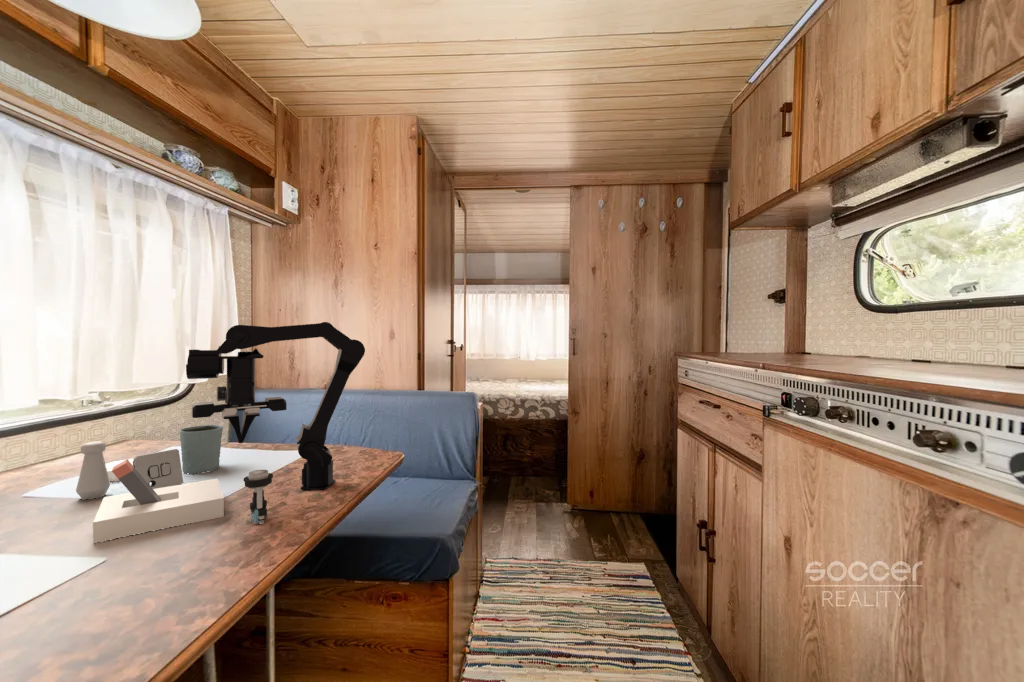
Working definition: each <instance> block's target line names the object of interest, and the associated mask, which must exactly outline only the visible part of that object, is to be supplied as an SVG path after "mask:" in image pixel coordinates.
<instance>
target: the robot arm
mask: <svg viewBox="0 0 1024 682" xmlns="http://www.w3.org/2000/svg"><path fill="white" fill-rule="evenodd" d="M315 338H316V339H317V338H323V339H324V340H325V341H326V342H328V343H329V344H330V345H331V346H333V347H334V348H336V349H337V350H338V351H337V354H336V355H337V356H336V360H335V367H334V370H333V373H332V375H331V377H330V380H329V382H328V383H327V386H326V389H325V391H324V393H323V396H322V398H321V400H320V402H319V404H318V407H317V410H316V411H315V413H314V415H313V418H312V419H311V421H310V422H309V424H307V425H306V424H304V423H302V425H301V428H300V432H299V434H298V435H297V436H296V437H295V440H296V446H297V453H298V455H299V456H300V457H301V458H302V459H303V460H306V462H303V468H302V469H301V485H302V486H300V490H309V491H310V490H313V491H314V490H316V491H317V490H318V491H319V490H320V491H321V490H327V489H329V488H330V487H331V486H333V484H334V483H336V481H337V480H336V479H334V460H333V455H332V453H331V451H330V448H329V447H328V446H326V445H325V443H326V439H327V432H328V427H329V423H330V422H331V419H332V417H333V415H334V412H335V410H336V407H337V405H338V403H339V400H340V398H341V396H342V394H343V391H344V389H345V386H346V384H347V382H348V379H349V377H350V375H351V374H352V373H353V371H354V370H355V369H356V368H357V367H358V365H359V364H360V362H361V361H362V359H363V357H364V355H365V353H366V348H365V346H364V344H363V342H362V341H360V340H358V339H352V338H351V337H349V336H347V335H346V334H345V333H343V332H341V331H340V330H339V329H337V328H336V327H335V326H333V324H331V323H330V322H329V321H322V322H319V323H309V324H308V323H307V324H294V325H282V326H281V325H279V326H260V325H259V326H258V325H250V324H249V325H246V324H237V325H234V326H231V327H229V329H228V330H227V332H226V334H225V340H224V341H223V343H222V344H221V345H219V346H218V348H217V349H207V350H206V349H194V348H193V349H192V348H191V349H189V350H188V356H187V363H186V365H185V371H186V373H185V374H186V379H188V380H200V379H201V380H204V379H218V378H219V375H220V374H222V375H223V374H224V373H225V372H224V371H225V360H226V386H217V388H216V401H217V402H221V401H224V403H220V404H214V401H205V402H204V401H203V402H194V403H193V404H192V405H191V417H192V419H200V418H210V417H212V416H213V415H214V414H216V413H221V417H222V418H223V419H224V420H228V421H229V423H230V425H231V426H232V429H233V431H234V434H235V436H236V440H237V441H238V444H243V443H244V442H245V439H246V436H247V434H248V432H249V430H250V427H251V426H252V423H253V422H254V419H255V418H256V417H261V413H260V410H262V409H269V410H270V411H271V412H279V411H287V400H286V399H284V398H283V397H281V396H275V397H274V396H273V397H272V396H271V397H265V399H264V400H262V401H256V398H255V397H256V379H255V378H256V359H263V358H264V354H262V353H261V352H260V351H259V349H258V348H254V349H253V350H252V351H238V352H237V355H229V356H228V355H227V356H226V354H230V353H232V352H234V351H235V350H245V349H250V348H253V347H257V346H260V345H265V344H268V343H274V342H282V341H283V342H284V341H293V340H303V339H305V340H306V339H315ZM223 354H224V356H223ZM240 411H242V423H240V416H239V415H238V412H240ZM240 424H241V425H240Z"/></svg>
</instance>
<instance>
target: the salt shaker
mask: <svg viewBox="0 0 1024 682" xmlns="http://www.w3.org/2000/svg"><path fill="white" fill-rule="evenodd" d="M106 447H107V446H106V442H104V441H99V440H97V441H90V442H86V443H83V444H82V445H81V446H80V453H81V454H82V455H83V459H82V464H81V469H80V473H79V475H78V476H79V478H78V481H77V485H76V489H75V491H76V494H77V495H78V497H80V499H81V500H82V501H87V500H86V499H92V500H95V499H94V498H96V499H99V498H98V497H100V498H103V497H105V495H106V493H107V492H108V490H109V488H110V486H111V482H110V481H109V477H108V473H107V469H106V462H105V457H104V452H105V450H106ZM102 496H103V497H102Z"/></svg>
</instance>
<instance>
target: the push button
mask: <svg viewBox="0 0 1024 682" xmlns="http://www.w3.org/2000/svg"><path fill="white" fill-rule="evenodd" d="M273 478H274V474H273V473H270V472H269V470H268V469H256V470H251V471H249V472H248V475H247V476H245V477H244V478H243V482H244V487H246V488H248V489H250V490H253V492H252V502H250V503H249V509H250V512H249V522H252V521H253V522H254V524H255V525H258V524H260V525H262V524H265V522H266V518H267V519H268V509H267V506H268V501H267V499H265V495H264V494H265V490H264V488H266V487H268V486H269V485H270V484H272V482H273Z"/></svg>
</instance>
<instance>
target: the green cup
mask: <svg viewBox="0 0 1024 682" xmlns="http://www.w3.org/2000/svg"><path fill="white" fill-rule="evenodd" d="M223 429H224V427H223V425H218V424H217V425H216V424H215V425H214V424H213V425H212V424H210V425H209V424H208V425H207V424H205V425H198V426H197V425H196V426H190V427H185V428H184V427H183V428H181V429H180V430H179V438H180V439H179V442H180V448H181V449H180V451H181V453H180V454H181V462H182V463H181V469H182V473H183V472H184V473H183V474H185V473H189V474H188V475H196V474H195V473H199V474H203V473H202V472H206V473H208V472H207V471H210V472H212V470H213V471H216V470H218V469H219V467H220V461H221V460H220V457H221V449H222V448H221V446H222V436H223ZM217 468H218V469H217ZM215 469H216V470H215Z"/></svg>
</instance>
